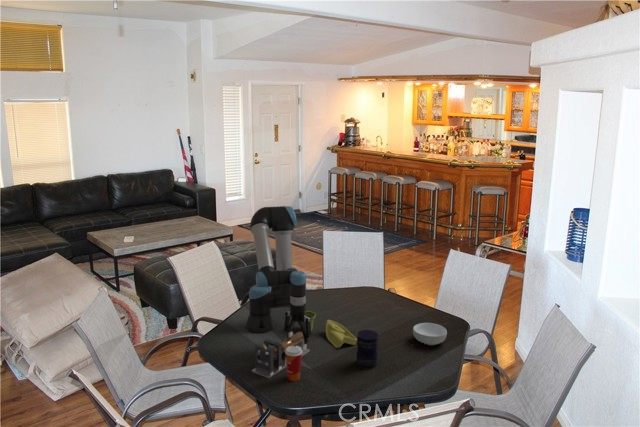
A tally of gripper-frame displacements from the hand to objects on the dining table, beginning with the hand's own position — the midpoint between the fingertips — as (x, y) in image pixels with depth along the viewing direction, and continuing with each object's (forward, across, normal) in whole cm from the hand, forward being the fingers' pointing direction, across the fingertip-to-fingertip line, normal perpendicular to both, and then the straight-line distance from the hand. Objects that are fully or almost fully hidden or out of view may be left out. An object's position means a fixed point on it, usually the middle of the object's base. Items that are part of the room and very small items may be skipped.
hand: (297, 347), depth 270 cm
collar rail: (+2, 0, -12) cm, 13 cm away
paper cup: (+2, +14, -22) cm, 26 cm away
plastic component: (+3, +10, +23) cm, 25 cm away
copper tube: (-3, 0, -8) cm, 8 cm away
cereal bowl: (+2, +49, +48) cm, 68 cm away
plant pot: (+2, -10, +22) cm, 25 cm away
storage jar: (+2, +34, +8) cm, 35 cm away
